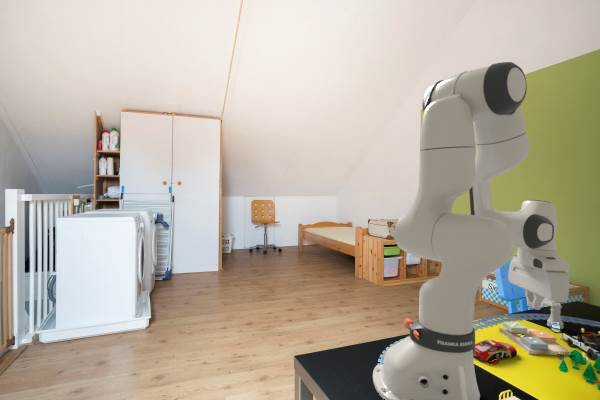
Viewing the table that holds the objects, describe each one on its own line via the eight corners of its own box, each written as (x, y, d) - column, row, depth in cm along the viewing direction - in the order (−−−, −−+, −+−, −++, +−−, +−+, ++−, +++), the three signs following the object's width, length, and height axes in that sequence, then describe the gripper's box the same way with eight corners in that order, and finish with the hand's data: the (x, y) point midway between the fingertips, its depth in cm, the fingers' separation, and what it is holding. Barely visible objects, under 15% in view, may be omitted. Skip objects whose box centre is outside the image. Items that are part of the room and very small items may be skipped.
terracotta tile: (539, 342, 94) (539, 337, 94) (529, 335, 99) (529, 330, 99) (556, 342, 94) (556, 337, 94) (545, 335, 99) (545, 330, 99)
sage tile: (511, 332, 99) (511, 327, 99) (502, 326, 104) (503, 321, 104) (527, 332, 99) (527, 328, 99) (517, 326, 104) (518, 322, 104)
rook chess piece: (552, 323, 111) (553, 300, 111) (567, 328, 107) (567, 304, 107) (543, 325, 110) (544, 301, 110) (557, 330, 106) (558, 305, 105)
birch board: (529, 353, 90) (529, 350, 90) (499, 330, 105) (499, 327, 105) (571, 355, 89) (571, 351, 89) (535, 332, 104) (535, 329, 104)
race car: (503, 348, 93) (503, 334, 93) (521, 357, 88) (522, 343, 88) (466, 354, 89) (466, 340, 89) (482, 364, 84) (483, 349, 84)
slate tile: (530, 348, 90) (530, 343, 90) (520, 341, 95) (520, 336, 95) (547, 349, 90) (548, 344, 90) (536, 341, 95) (536, 336, 95)
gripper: (503, 251, 102) (501, 296, 102) (549, 265, 82) (546, 320, 82) (524, 253, 102) (522, 297, 102) (575, 266, 82) (573, 322, 82)
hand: (533, 307), depth 92 cm, fingers closed
